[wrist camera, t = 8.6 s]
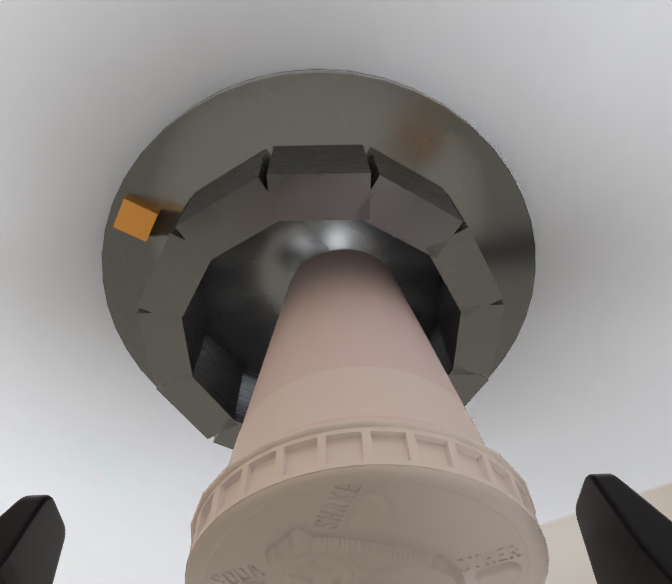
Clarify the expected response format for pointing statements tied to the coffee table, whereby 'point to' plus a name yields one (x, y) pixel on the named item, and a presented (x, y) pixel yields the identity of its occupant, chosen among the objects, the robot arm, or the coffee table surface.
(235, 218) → the mount
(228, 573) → the smoothie
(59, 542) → the robot arm
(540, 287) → the coffee table surface
